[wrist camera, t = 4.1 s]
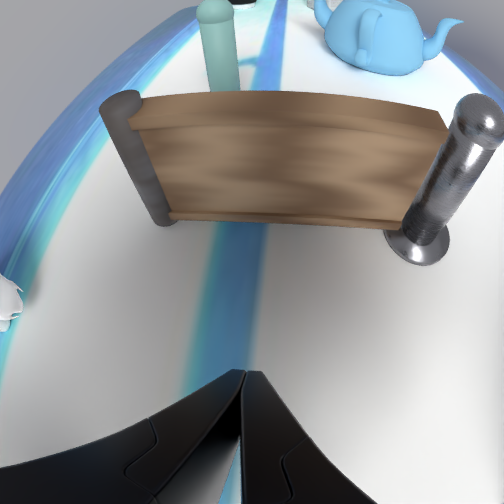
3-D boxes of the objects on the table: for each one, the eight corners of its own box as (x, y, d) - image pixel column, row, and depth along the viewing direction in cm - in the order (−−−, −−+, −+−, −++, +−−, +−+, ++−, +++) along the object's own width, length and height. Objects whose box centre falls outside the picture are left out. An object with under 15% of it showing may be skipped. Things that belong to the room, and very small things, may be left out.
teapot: (349, 86, 27) (361, -1, 18) (297, 36, 35) (298, -28, 26) (445, 86, 29) (466, 20, 20) (383, 37, 36) (392, -18, 27)
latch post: (224, 139, 24) (204, 7, 14) (197, 120, 25) (172, 2, 15) (262, 119, 25) (255, -6, 15) (233, 101, 26) (220, -11, 16)
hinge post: (425, 280, 17) (527, 155, 7) (368, 228, 19) (426, 80, 9) (457, 235, 18) (537, 119, 9) (406, 191, 20) (460, 62, 11)
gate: (391, 210, 19) (439, 100, 11) (396, 237, 18) (454, 127, 10) (156, 201, 20) (109, 93, 12) (149, 226, 19) (92, 118, 11)
